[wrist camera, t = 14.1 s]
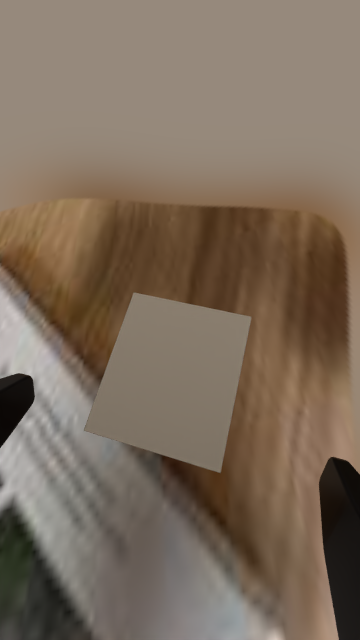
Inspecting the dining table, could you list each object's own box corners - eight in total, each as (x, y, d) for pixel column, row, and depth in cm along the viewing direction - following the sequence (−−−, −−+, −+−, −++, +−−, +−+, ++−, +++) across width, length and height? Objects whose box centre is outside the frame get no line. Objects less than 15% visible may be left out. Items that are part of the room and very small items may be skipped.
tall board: (214, 453, 15) (220, 472, 7) (151, 434, 16) (83, 430, 7) (229, 379, 17) (251, 316, 8) (171, 365, 17) (133, 292, 9)
